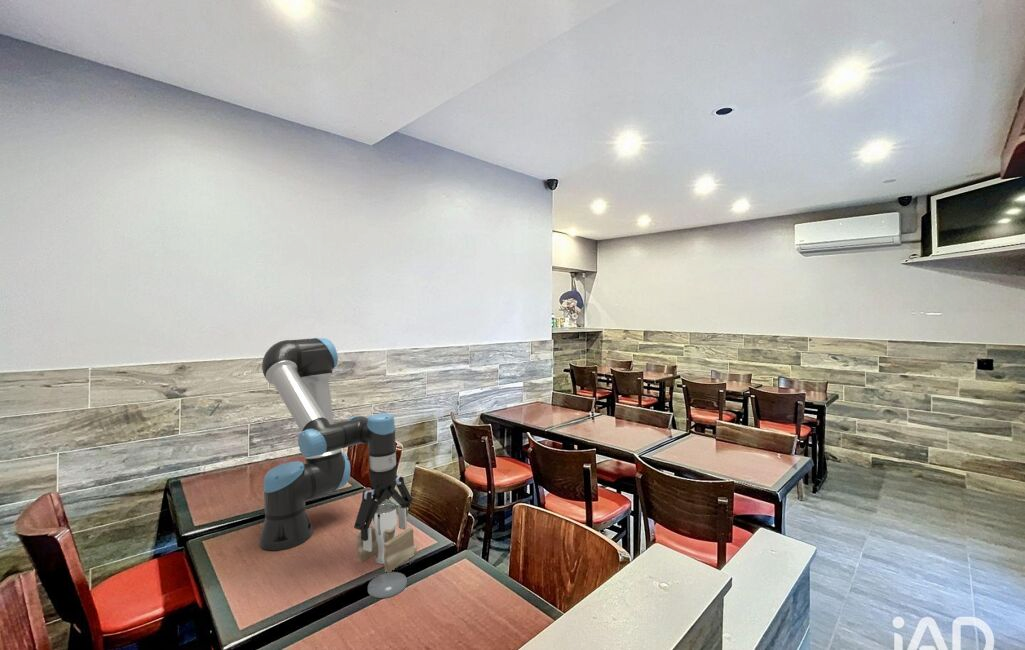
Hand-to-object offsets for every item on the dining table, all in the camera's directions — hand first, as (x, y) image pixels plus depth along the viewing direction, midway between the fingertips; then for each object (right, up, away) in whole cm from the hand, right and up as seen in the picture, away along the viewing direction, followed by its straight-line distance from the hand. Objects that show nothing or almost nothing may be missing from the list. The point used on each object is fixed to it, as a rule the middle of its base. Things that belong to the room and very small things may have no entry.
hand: (386, 539), depth 125 cm
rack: (0, -6, 0) cm, 6 cm away
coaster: (+4, -6, -12) cm, 14 cm away
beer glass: (0, -6, 0) cm, 6 cm away
